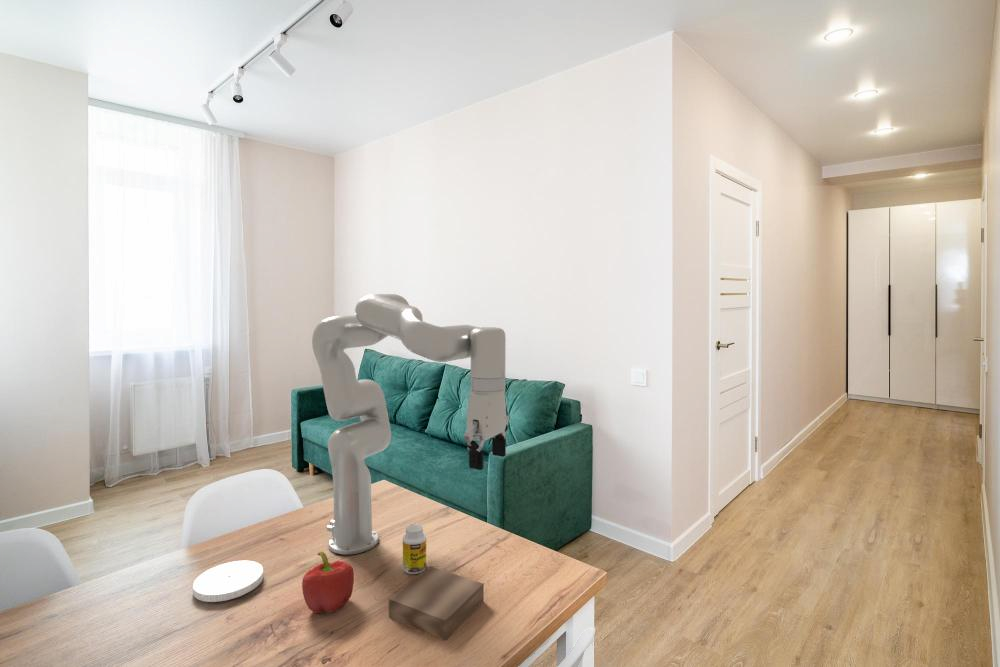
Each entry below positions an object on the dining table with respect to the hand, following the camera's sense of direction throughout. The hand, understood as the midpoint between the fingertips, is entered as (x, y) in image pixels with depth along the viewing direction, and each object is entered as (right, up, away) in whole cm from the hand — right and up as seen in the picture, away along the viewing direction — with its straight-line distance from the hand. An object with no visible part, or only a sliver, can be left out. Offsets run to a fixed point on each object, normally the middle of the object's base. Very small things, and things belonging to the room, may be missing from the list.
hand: (487, 461), depth 111 cm
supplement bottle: (-18, -29, +10) cm, 35 cm away
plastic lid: (-58, -29, +3) cm, 65 cm away
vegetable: (-34, -30, -4) cm, 45 cm away
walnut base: (-10, -29, -5) cm, 32 cm away
